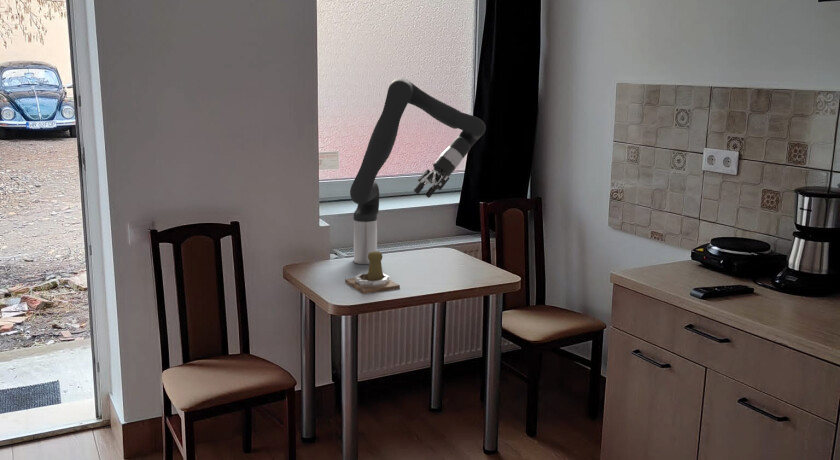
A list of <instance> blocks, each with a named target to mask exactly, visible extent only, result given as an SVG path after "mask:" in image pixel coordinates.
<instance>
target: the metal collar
mask: <svg viewBox="0 0 840 460" xmlns="http://www.w3.org/2000/svg"><path fill="white" fill-rule="evenodd" d="M354 278H355V283H356V284H358V285H360V286H367V287H377V286H384V285H386V284H387V283H388V282H389V280H390V275H387V274H386V273H384V272H383V279H381V280H374V281H372V280H364V279H367V278H368V272H364V273H358V274H357V275H356V276H355V277H354Z"/></svg>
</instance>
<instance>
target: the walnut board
mask: <svg viewBox="0 0 840 460" xmlns="http://www.w3.org/2000/svg"><path fill="white" fill-rule="evenodd" d="M344 280H345V281H344V282H345V283H346V284H347V285H349V286H350V287H353V288H354V289H355V290H357V291H359V292H360V293H361V294H364V295H365V294H372V293H378V292H384V291H385V292H386V291H390V290H391V291H393V290H398V289H400V288H401V286H400V284H399V283H396V282H395V281H393V280H392V279H389V282H388V283H387V284H386V285H384V286H377V287H367V286H360V285H358V284H356V283H355V277H351V278H345V279H344ZM364 280H367V279H364Z"/></svg>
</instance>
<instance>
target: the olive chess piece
mask: <svg viewBox="0 0 840 460" xmlns="http://www.w3.org/2000/svg"><path fill="white" fill-rule="evenodd" d="M368 260H369V264H368V271H367V273H368V278H367V280H372V281H374V280H381V279H383V273H384V271H383V268H382V260H383V254H382V252H380V251H378V250H377V251H374V252H370V253H369V254H368Z"/></svg>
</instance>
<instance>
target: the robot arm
mask: <svg viewBox="0 0 840 460" xmlns="http://www.w3.org/2000/svg"><path fill="white" fill-rule="evenodd" d="M408 104H410V105H412V106H414V107H417V108H418V109H420V110H422V111H424V112H425V113H426V114H428V115H429V116H431V118H433V119H435V120H436V121H437V122H440V123H441V124H442V125H445V126H447V127H449V128H451V129H454V130H456V129H459V130H461V132H460V133H459V134H458V136H457V137H455V139H454V140H453V141H452V142H451V143H450V145H449V146H448V147H447V148H446V149H445V150H444V151H443V152H442V153H441V154H440V155H439V156H438V157H437V159H436V160H435V161H434V162H433V164H432V165H433V167H432V168H433V169H432V170H430V169H428V168H427V169H426V170H424V173H423V174H422V175H420V177H418V179H417V182H418V184H417V185H416V187H415V188H414V189H413V192H414V193H415V194H416V195H419V194H420V193H421V191H422V190H423V189H424V188H425V187H426V186H428V185H429V188H428V189H427V190H426V192H424V195H425V196H426V198H431V197H432V195H433V194H434V193H435V192H437V191H441V190H442V189H443V188H444V187H445V185H446V184H447V182H448V181H449V180H450V176H451V175H452V174H453V172H454V171H455V170H456V169H457V167H458V166H459V165H460V164H461V162H462V161H463V159H464V158H465V157H466V156H467V154H468V153H469V152H470V150H471V148H472V147H473V146H474V145H475V144H476V143H477V141H478V140H479V139H480V138H482V136H483V135H485V132H486V130H487V126H486V123H485V122H484V121H483V120H482V119H481V118H479V117H477V116H475V115H472V114H468V113H466V112H465V113H464V112H462V111H460V110H459V109H457V108H455V107H453V106H451V105H449V104H447V103H445V102H443V101H441V100H439V99H437V98H436V97H433V96H431V95H430V94H428V93H427V92H426V91H424V90H422V89H421V88H419V87H418V86H416V85H415V84H414V83H413V82H411V81H410V80H409V79H407V78H406V77H397V78H395V79H394V80H392V81H391V83H390V84H389V86H388V87H387V92H386V98H385V102H384V105H383V108H382V111H381V112H382V113H381V114H380V117H379V118H378V120H377V122H376V124H375V126H374V128H373V131H372V133H371V136H370V138H369V141H368V144H367V147H366V150H365V153H364V156H363V157H362V161H361V165H360V167H359V170H358V172H357V174H356V176H355V178H354V180H353V182H352V184H351V186H350V191H349V194H350V198H351V200H352V202H354V203H355V204H357V207H356V209H355V210H354V213H353V262H354V263H355V264H359V265H369V260H368V254H369V253H370V252H374V251H377V252H378V214H379V211H380V209H379V208H380V188H379V185H378V183H377V182H376V181H375V180H376V178H377V175H378V174H379V172H380V170H381V169H382V168H383V166H384V165H385V163H386V162H387V160H388V159H389V157H390V155H391V153H392V150H393V148H394V145H395V143H396V139H397V136H398V132H399V127H400V122H401V120H402V119H401V118H402V116H403V114H404V112H405V110H406V108H407V106H408ZM430 185H431V186H430Z"/></svg>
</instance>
